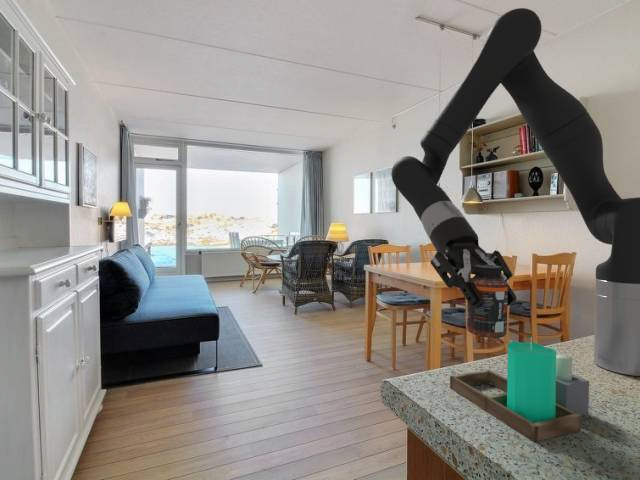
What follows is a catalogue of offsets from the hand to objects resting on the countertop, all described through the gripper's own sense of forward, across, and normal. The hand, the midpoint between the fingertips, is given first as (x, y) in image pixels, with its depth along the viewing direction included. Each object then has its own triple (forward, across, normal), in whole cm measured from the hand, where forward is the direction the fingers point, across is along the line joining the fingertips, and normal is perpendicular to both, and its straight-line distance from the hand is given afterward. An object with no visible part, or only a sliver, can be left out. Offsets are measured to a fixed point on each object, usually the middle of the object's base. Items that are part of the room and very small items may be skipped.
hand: (495, 304), depth 55 cm
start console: (+15, +7, +7) cm, 18 cm away
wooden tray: (+13, 0, +9) cm, 16 cm away
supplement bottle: (+3, 0, +5) cm, 6 cm away
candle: (+16, 0, +6) cm, 17 cm away
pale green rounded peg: (+14, +7, +5) cm, 16 cm away
